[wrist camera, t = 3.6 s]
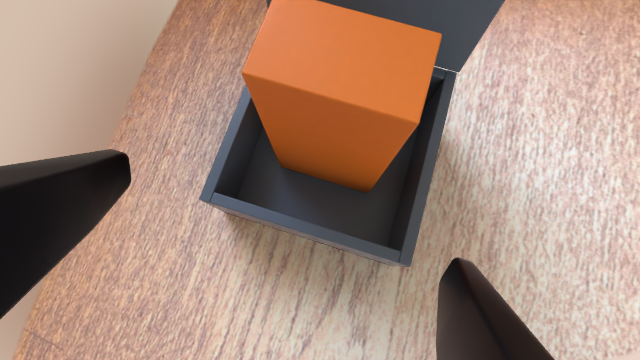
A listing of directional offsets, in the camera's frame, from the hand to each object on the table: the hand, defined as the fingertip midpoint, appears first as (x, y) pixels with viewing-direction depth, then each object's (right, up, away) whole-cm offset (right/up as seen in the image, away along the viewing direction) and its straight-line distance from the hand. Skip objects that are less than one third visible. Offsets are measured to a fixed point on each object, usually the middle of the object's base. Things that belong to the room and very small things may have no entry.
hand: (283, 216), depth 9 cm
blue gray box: (+2, +2, +14) cm, 14 cm away
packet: (+2, +3, +13) cm, 13 cm away
